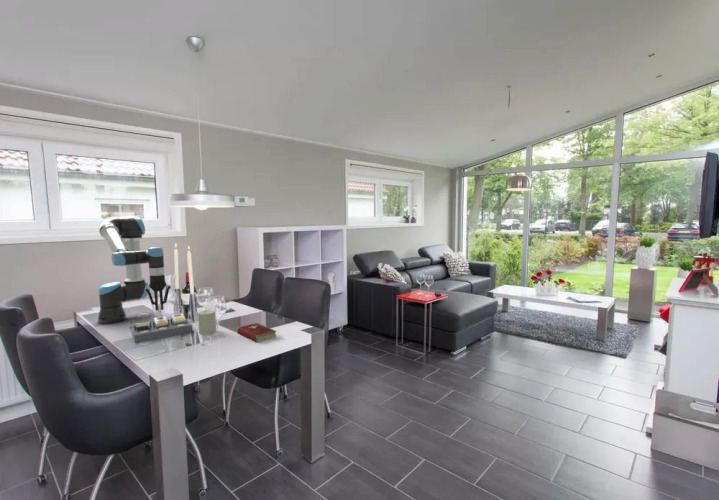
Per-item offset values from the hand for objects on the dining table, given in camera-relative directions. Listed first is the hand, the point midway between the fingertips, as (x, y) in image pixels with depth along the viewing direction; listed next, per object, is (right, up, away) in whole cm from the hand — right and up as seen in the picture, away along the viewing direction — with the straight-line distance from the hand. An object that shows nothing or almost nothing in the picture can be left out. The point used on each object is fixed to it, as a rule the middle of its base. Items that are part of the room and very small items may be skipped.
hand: (159, 315), depth 211 cm
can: (+28, -9, -1) cm, 29 cm away
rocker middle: (+2, -3, -2) cm, 4 cm away
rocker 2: (+9, -2, +3) cm, 10 cm away
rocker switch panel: (+3, -9, -3) cm, 10 cm away
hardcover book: (+57, -10, -8) cm, 59 cm away
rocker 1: (-6, -3, -7) cm, 10 cm away
